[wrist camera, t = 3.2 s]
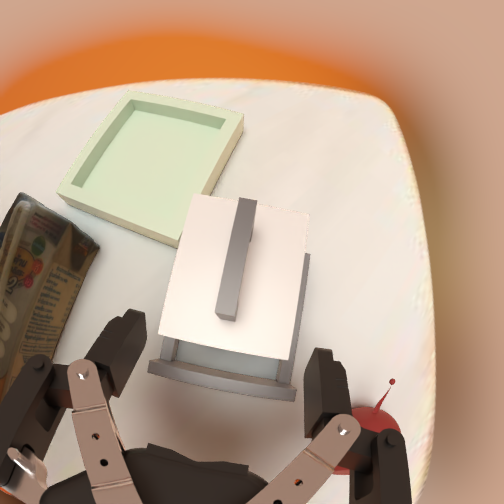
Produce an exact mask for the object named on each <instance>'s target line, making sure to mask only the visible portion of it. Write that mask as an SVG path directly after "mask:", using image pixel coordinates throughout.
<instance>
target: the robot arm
mask: <svg viewBox="0 0 504 504" xmlns="http://www.w3.org/2000/svg"><path fill="white" fill-rule="evenodd" d="M146 340H147V331H146V320H145V313H144V312H141V311H137V310H133V309H128V310H127V312H126V313H125V314H124V316H123V317H119V316H117V317H115V318H114V319H112V320H111V321H109V322H108V324H107V325H106V327H105V328H104V331H102V332H101V334H100V336H99V337H98V338H97V340H96V341H95V343H94V344H93V346H92V347H91V349H90V350H89V352H88V353H87V355H86V356H85V358H84V359H79V360H76V361H74V362H73V363H71V364H70V365H60V364H52V361H51V359H50V358H49V357H48V356H46V355H43V354H37V355H34V356H32V357H30V358H29V359H28V361H27V362H26V364H25V365H24V367H23V368H22V370H21V371H20V373H19V374H18V376H17V377H16V379H15V381H14V382H13V384H12V385H11V387H10V389H9V390H8V392H7V394H6V395H5V397H4V399H3V400H2V402H1V404H0V490H2V491H4V492H5V493H7V494H10V495H12V496H13V497H15V498H17V499H20V500H21V501H23V502H25V503H26V504H306V503H307V502H308V501H309V500H310V499H311V498H312V496H313V495H314V494H315V493H316V492H317V491H318V490H319V489H320V487H321V486H322V485H323V484H324V483H325V482H326V480H327V479H328V478H329V477H330V475H331V474H332V473H333V472H334V470H335V469H334V468H335V467H336V466H340V467H343V468H347V469H349V470H350V488H349V504H412V498H411V487H410V477H409V468H408V461H407V453H406V446H405V440H404V437H403V436H402V434H401V433H400V432H399V431H397V430H395V429H392V428H387V429H384V430H382V431H381V432H380V433H378V432H375V431H371V430H368V429H365V428H363V427H361V426H360V424H359V422H358V421H357V420H356V419H355V418H354V417H353V415H352V409H351V402H350V395H349V389H348V383H347V376H346V370H345V369H344V367H343V365H342V364H341V362H340V361H333V354H332V350H331V349H323V348H315V349H314V351H313V353H312V355H311V358H310V360H309V362H308V364H307V367H306V369H305V373H304V429H305V438H312V442H311V443H310V444H309V445H308V447H307V448H306V449H304V450H303V451H302V452H301V453H300V454H299V455H298V456H297V457H296V458H295V459H294V460H293V461H292V462H291V463H290V464H289V465H288V466H287V467H286V468H285V469H284V470H283V471H282V472H281V473H280V474H279V475H278V476H277V477H276V478H275V479H274V480H273V481H271V482H270V483H269V484H268V482H266V481H265V480H264V479H263V478H261V477H260V476H258V475H256V474H254V473H252V472H249V471H248V466H249V465H242V464H235V463H229V462H196V461H193V460H191V459H189V458H187V457H185V456H183V455H181V454H179V453H177V452H175V451H173V450H171V449H167V448H163V447H160V446H157V445H153V444H150V443H148V445H147V448H134V449H129V450H125V447H124V445H123V442H122V440H121V437H120V435H119V432H118V429H117V426H116V423H115V420H114V417H113V414H112V411H111V407H110V404H109V400H110V398H111V396H112V395H113V396H115V397H118V398H119V397H120V395H121V393H122V391H123V389H124V387H125V385H126V383H127V381H128V379H129V377H130V375H131V373H132V371H133V369H134V367H135V365H136V363H137V361H138V359H139V357H140V355H141V353H142V351H143V349H144V347H145V344H146ZM66 408H71V409H73V411H72V418H73V423H74V427H75V432H76V436H77V440H78V444H79V447H80V451H81V454H82V458H83V461H84V465H85V468H86V470H85V471H83V472H81V473H79V474H77V475H74V476H72V477H70V478H68V479H66V480H63V481H61V482H59V483H57V484H54V485H52V486H50V487H49V488H48V487H47V484H46V478H47V469H46V466H45V465H44V463H43V460H44V457H45V455H46V452H47V450H48V448H49V445H50V443H51V441H52V439H53V436H54V434H55V432H56V430H57V427H58V425H59V423H60V421H61V419H62V417H63V415H64V412H65V410H66Z"/></svg>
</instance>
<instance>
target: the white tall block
mask: <svg viewBox="0 0 504 504" xmlns="http://www.w3.org/2000/svg"><path fill="white" fill-rule="evenodd" d="M309 215H310V214H305V213H301V212H296V211H291V210H286V209H281V208H275V207H270V206H265V205H260V204H257V201H256V200H251V199H245V198H240V197H239V201H238V200H232V199H226V198H220V197H214V196H208V195H202V194H196V193H194V194H193V197H192V200H191V204H190V207H189V210H188V214H187V217H186V221H185V224H184V228H183V231H182V235H181V239H180V242H179V246H178V250H177V254H176V258H175V261H174V265H173V269H172V273H171V277H170V281H169V286H168V290H167V294H166V298H165V303H164V307H163V311H162V316H161V321H160V325H159V330H158V334H160V335H163V336H167V337H171V338H175V339H179V340H184V341H188V342H192V343H197V344H201V345H206V346H210V347H215V348H220V349H225V350H230V351H235V352H240V353H246V354H252V355H257V356H263V357H269V358H276V359H282V360H288V358H289V353H290V347H291V341H292V336H293V330H294V324H295V317H296V311H297V305H298V298H299V291H300V285H301V278H302V270H303V263H304V256H305V248H306V240H307V232H308V223H309Z"/></svg>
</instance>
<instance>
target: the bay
mask: <svg viewBox="0 0 504 504" xmlns="http://www.w3.org/2000/svg"><path fill="white" fill-rule="evenodd" d="M309 260H310V254H307V253H305V256H304V263H303V270H302V278H301V285H300V291H299V298H298V305H297V311H296V317H295V324H294V330H293V336H292V341H291V347H290V353H289V358H288V360H282V359H280V360H279V366H278V371H277V376H276V380H272V379H265V378H259V377H253V376H247V375H241V374H236V373H230V372H225V371H220V370H215V369H211V368H206V367H202V366H197V365H193V364H188V363H184V362H180V361H176V360H175V357H176V352H177V347H178V342H179V339H175V338H171V337H167V336H164V340H163V345H162V350H161V355H160V359H154V360H150V361H149V366H148V373H152V374H155V375H159V376H162V377H166V378H170V379H173V380H177V381H181V382H185V383H190V384H194V385H198V386H203V387H207V388H212V389H217V390H222V391H227V392H232V393H238V394H243V395H249V396H255V397H262V398H269V399H276V400H284V401H293V402H294V401H295V396H296V391H297V389H295V388H294V387H293V386H291V385H290V380H291V375H292V370H293V364H294V359H295V353H296V347H297V341H298V335H299V329H300V323H301V317H302V310H303V304H304V297H305V290H306V283H307V276H308V268H309Z"/></svg>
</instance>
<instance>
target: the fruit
mask: <svg viewBox="0 0 504 504" xmlns="http://www.w3.org/2000/svg"><path fill="white" fill-rule="evenodd" d="M389 383H390V384H391V385H393V384H394V383H395V379H391V380H390V381H389ZM390 388H391V387H390ZM389 390H390V389H389ZM389 390H388V392H389ZM388 392H387V393H388ZM387 393H386V394H385V395H384V396H383V398H382V399H381V400H380V401H379V402H378V404H377V405H376V407H375V408H373V407H359V408H354V409H352V415H353V417H354V418H355V419H356V420H357V421H358V422H359V424H360V426H361V427H363V428H365V429H368V430H371V431H375V432H378V433H380V432H381V431H382V430H384V429H387V428H392V429H395V430H397V431H399V432H400V433H401V431H400V428H399V426H398V424H397V422H396V421H395V419H394V418H393V417H392V416H391V415H389V414H388V413H386V412H385V411H383V410H380V409H379V408H380V406H381V404H382V402H383V400H384V398H385V397H386V395H387ZM334 469H335V470H334V472H333V473H332V474H336V475H350V470H349V469H347V468H343V467H340V466H336V467H335V468H334Z"/></svg>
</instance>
